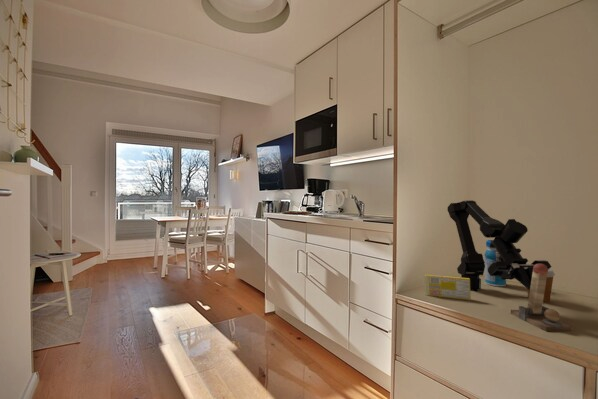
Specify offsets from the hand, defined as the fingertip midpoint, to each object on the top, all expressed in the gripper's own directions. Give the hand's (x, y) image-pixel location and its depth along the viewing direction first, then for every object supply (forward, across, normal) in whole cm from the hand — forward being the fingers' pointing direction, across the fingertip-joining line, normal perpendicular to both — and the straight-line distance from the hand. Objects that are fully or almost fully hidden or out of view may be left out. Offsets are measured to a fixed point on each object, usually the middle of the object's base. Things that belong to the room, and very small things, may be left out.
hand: (533, 290), depth 93 cm
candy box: (-9, +16, -23) cm, 29 cm away
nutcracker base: (+8, 0, -5) cm, 9 cm away
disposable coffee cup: (-6, -17, -19) cm, 26 cm away
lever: (+5, 0, -5) cm, 8 cm away
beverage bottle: (-20, -15, -34) cm, 43 cm away
